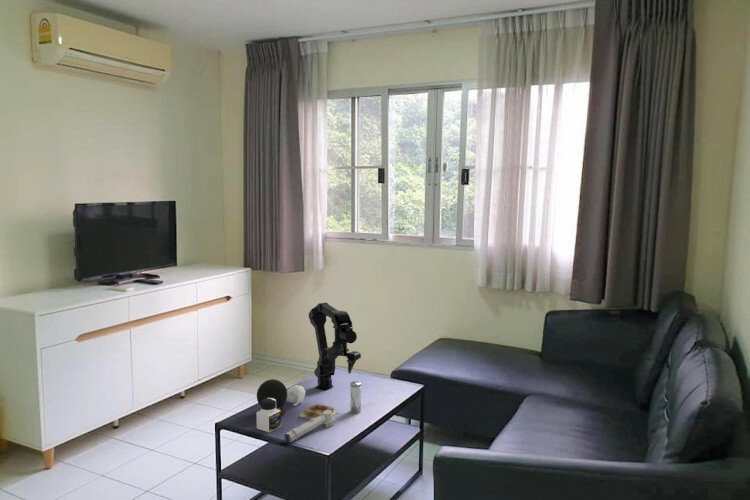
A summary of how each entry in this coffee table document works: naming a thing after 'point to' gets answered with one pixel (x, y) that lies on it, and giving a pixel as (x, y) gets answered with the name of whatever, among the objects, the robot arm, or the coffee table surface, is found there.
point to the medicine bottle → (268, 416)
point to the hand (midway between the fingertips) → (341, 371)
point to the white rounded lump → (296, 394)
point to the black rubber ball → (273, 393)
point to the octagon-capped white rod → (310, 426)
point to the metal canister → (355, 397)
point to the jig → (316, 411)
